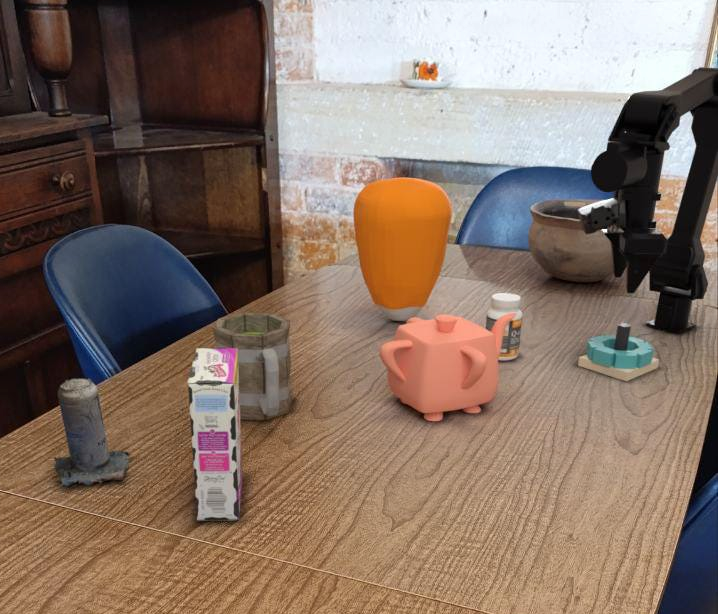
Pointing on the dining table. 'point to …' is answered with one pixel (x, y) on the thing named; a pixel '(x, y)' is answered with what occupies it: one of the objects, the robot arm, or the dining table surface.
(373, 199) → the orange egg-shaped ornament
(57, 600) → the dining table surface
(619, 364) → the ring
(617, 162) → the robot arm
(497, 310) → the pill bottle
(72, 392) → the grey upright cylinder
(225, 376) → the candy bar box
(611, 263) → the ceramic bowl
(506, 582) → the dining table surface
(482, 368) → the teapot
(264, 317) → the mug
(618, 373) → the peg stand
